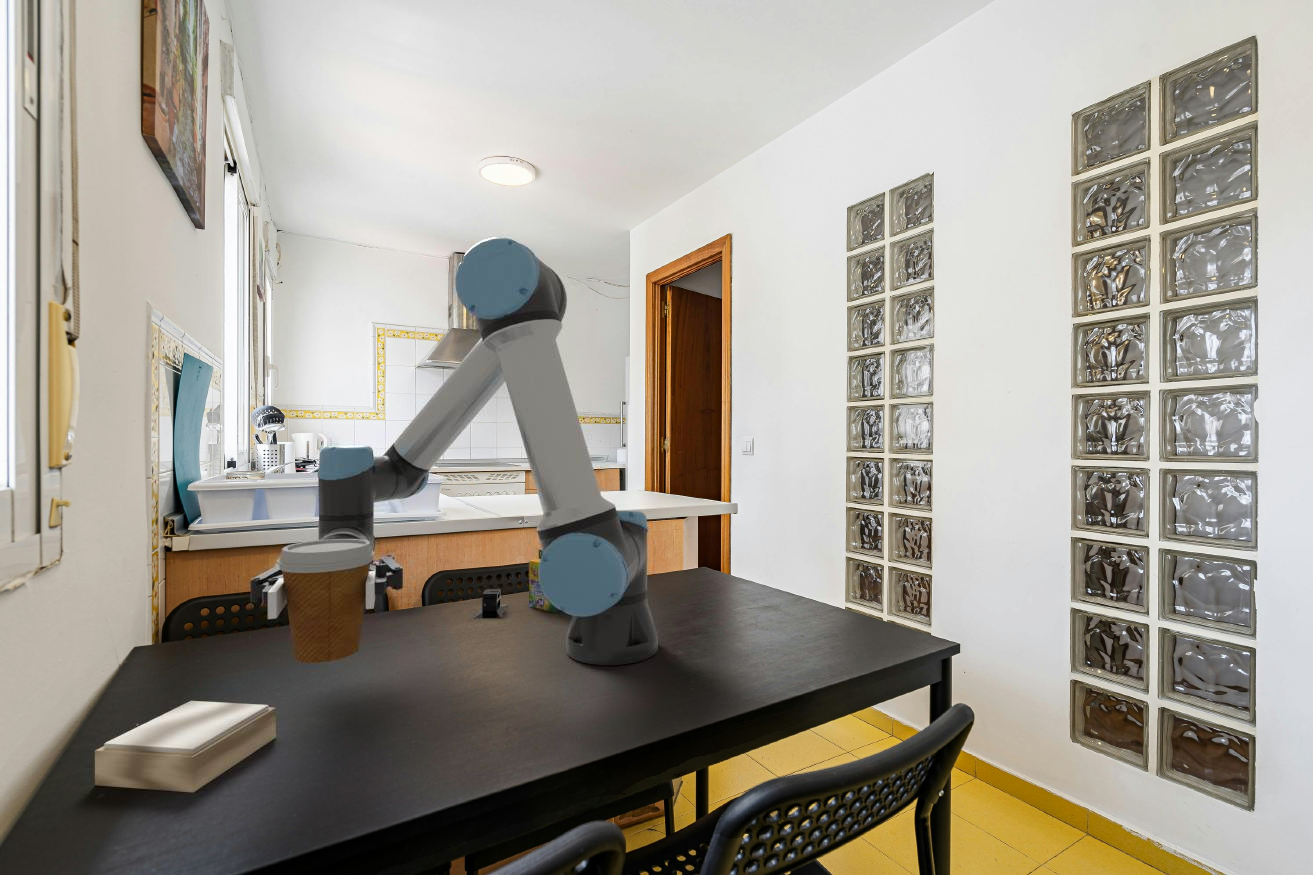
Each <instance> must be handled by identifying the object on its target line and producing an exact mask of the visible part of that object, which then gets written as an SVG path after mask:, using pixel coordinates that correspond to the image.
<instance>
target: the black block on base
mask: <svg viewBox="0 0 1313 875" xmlns="http://www.w3.org/2000/svg"><path fill="white" fill-rule="evenodd" d="M481 596H482V599H481V606H480V608H479V609H478V610H479V611H478V610H477V612H476V613H475V614H474V616H475V617H474V616H473V617H474V618H473V617H472V619H473V620H474V619H475V620H477V619H478V620H479V619H483V620H484V619H502V618H503V616H504V615H503V613H504V612H505V613H506V611H505V608H507V607H508V608H509V606H508V605H509V604H501V602H502V601H501V596H502V594H501V589H499V588H496V589H495V588H493V589H491V588H490V589H489V588H487V589H485V590H484V592H483V593H482V595H481ZM508 608H507V609H508ZM505 613H504V614H505ZM476 618H477V619H476Z"/></svg>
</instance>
